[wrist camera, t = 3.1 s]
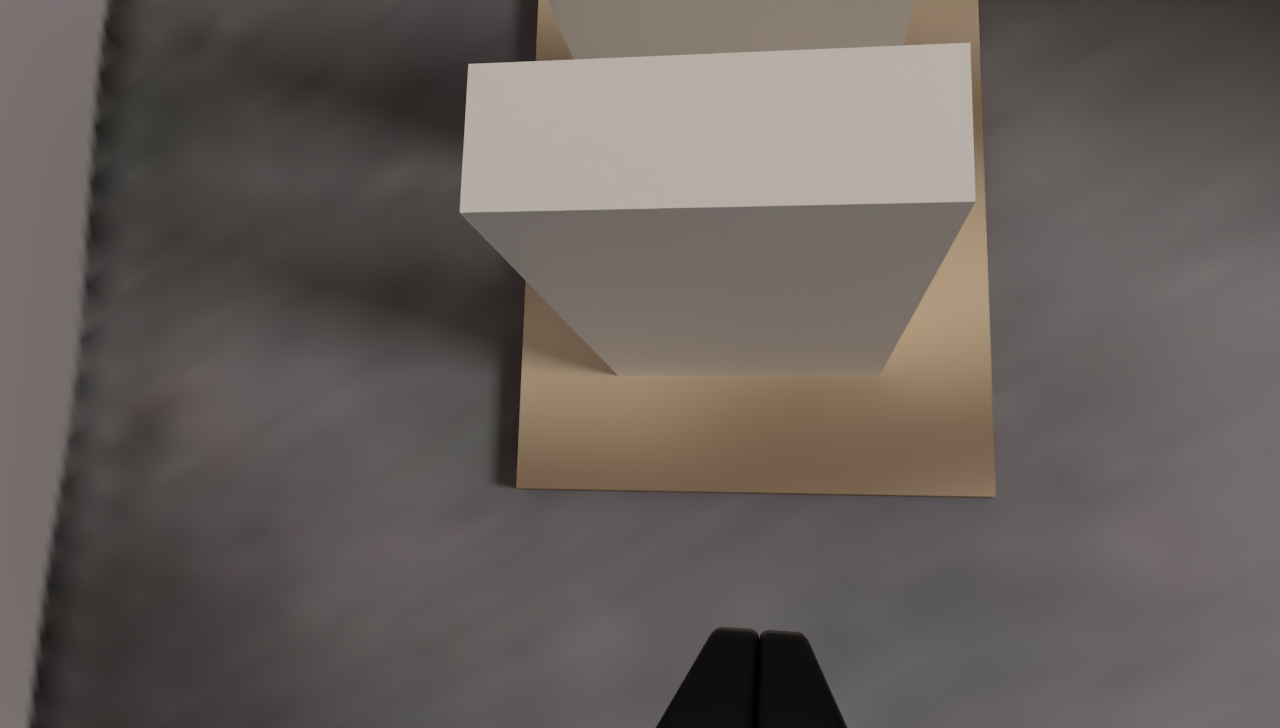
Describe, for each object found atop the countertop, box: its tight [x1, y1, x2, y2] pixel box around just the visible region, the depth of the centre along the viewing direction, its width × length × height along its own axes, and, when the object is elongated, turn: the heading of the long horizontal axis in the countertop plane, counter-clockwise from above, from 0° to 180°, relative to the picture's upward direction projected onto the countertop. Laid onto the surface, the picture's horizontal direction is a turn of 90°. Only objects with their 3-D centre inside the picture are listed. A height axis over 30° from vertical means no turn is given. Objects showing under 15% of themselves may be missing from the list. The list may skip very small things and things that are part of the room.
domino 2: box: [548, 0, 915, 60], centre depth 16 cm, size 2×5×10 cm, turn 89°
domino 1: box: [460, 43, 976, 376], centre depth 15 cm, size 2×5×10 cm, turn 88°
